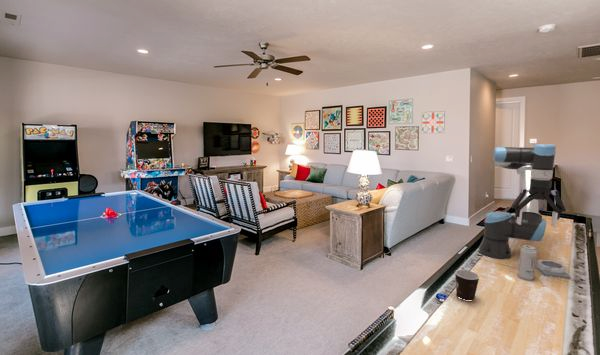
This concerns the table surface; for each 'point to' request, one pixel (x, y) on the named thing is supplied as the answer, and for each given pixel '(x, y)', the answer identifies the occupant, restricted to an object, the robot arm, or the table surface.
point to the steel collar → (558, 270)
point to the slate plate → (553, 273)
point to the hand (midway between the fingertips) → (535, 225)
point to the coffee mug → (466, 284)
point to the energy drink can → (527, 262)
